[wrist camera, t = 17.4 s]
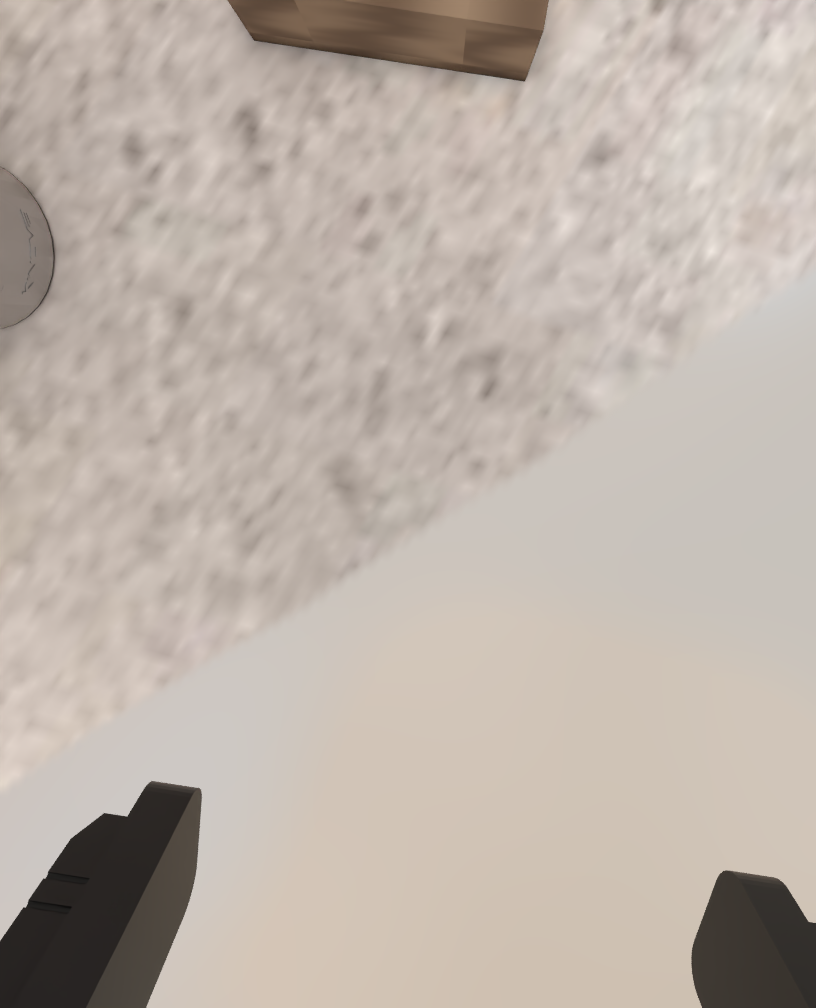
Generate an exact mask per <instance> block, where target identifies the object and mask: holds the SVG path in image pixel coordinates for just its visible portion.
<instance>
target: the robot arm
mask: <svg viewBox="0 0 816 1008" xmlns="http://www.w3.org/2000/svg"><path fill="white" fill-rule="evenodd" d="M53 259H54V256H53V247H52V238H51V235H50V232H49V228H48V225H47V222H46V219H45V217H44V215H43V213H42V211H41V209H40V207H39V205H38V203H37V202H36V201H35V199H34V198H33V197H32V195H31V194H30V193H29V191H28V190H27V189H26V187H25V186H24V185H23V184H22V183H21V182H19V181H18V180H17V179H16V178H15V177H14V176H13V175H12V174H11V173H9V172H8V171H6V170H5V169H3V168H1V167H0V329H1V328H4V327H8V326H11V325H14V324H16V323H18V322H19V321H21V320H23V319H24V318H26V317H28V316H29V315H30V314H31V313H32V312H33V311H34V310H35V309H36V308H37V307H38V306H39V304H40V302H41V301H42V299H43V297H44V295H45V294H46V292H47V290H48V286H49V283H50V280H51V277H52V270H53ZM201 799H202V794H201V790H200V788H194V787H187V786H181V785H174V784H168V783H161V782H155V781H152V782H150V783H149V784H148V785H147V786H146V787H145V789H144V790H143V792H142V793H141V795H140V797H139V798H138V800H137V802H136V803H135V805H134V807H133V808H132V810H131V811H130V813H129V815H128V817H125V816H119V815H113V814H106V813H104V814H103V815H102V816H100V817H99V818H98V819H96V820H95V821H94V822H92V823H91V824H90V825H88V826H87V827H86V828H84V829H83V830H82V831H80V832H79V833H78V834H77V835H75V836H74V837H73V838H71V839H70V841H69V843H68V844H67V845H66V847H65V848H64V850H63V851H62V853H61V854H60V855H59V857H58V858H57V860H56V861H55V863H54V864H53V866H52V867H51V869H50V870H49V871H48V875H47V877H46V879H43V880H42V881H41V883H40V884H39V886H38V887H37V889H36V890H35V892H34V893H33V894H32V896H31V898H30V899H29V901H28V905H27V907H26V908H23V909H22V910H21V912H20V913H19V915H18V916H17V918H16V919H15V921H14V922H13V923H12V925H11V926H10V928H9V929H8V931H7V932H6V934H5V935H4V936H3V938H2V939H1V941H0V1008H146V1006H147V1004H148V1001H149V999H150V996H151V994H152V992H153V989H154V987H155V984H156V982H157V979H158V977H159V975H160V972H161V970H162V967H163V965H164V963H165V960H166V958H167V955H168V953H169V950H170V948H171V946H172V943H173V941H174V939H175V936H176V934H177V931H178V929H179V926H180V924H181V922H182V919H183V917H184V914H185V912H186V909H187V906H188V903H189V899H190V896H191V892H192V889H193V884H194V880H195V875H196V867H197V855H198V841H199V828H200V814H201ZM692 974H693V980H694V985H695V989H696V992H697V995H698V998H699V1000H700V1003H701V1006H702V1008H816V923H811V922H808V920H807V919H806V917H805V916H804V914H803V912H802V911H801V909H800V908H799V906H798V904H797V903H796V901H795V899H794V898H793V897H792V895H791V893H790V892H789V890H788V888H787V887H786V886H785V885H784V883H783V882H781V881H780V880H779V879H777V878H774V877H767V876H760V875H753V874H747V873H740V872H734V871H723V872H722V873H721V874H720V875H719V876H718V878H717V880H716V883H715V886H714V888H713V891H712V894H711V897H710V899H709V903H708V905H707V908H706V910H705V913H704V916H703V919H702V921H701V924H700V927H699V930H698V932H697V935H696V938H695V941H694V944H693V948H692Z"/></svg>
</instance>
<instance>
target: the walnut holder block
mask: <svg viewBox="0 0 816 1008" xmlns="http://www.w3.org/2000/svg"><path fill="white" fill-rule="evenodd" d="M548 1H549V0H228V2H229V3H230V5H231V6H232V8H233V9H234V11H235V12H236V14H237V15H238V17H239V18H240V20H241V21H242V23H243V24H244V26H245V27H246V29H247V30H248V32H249V33H250V35H251V36H252V38H253V39H254V40H255V41H262V42H268V43H275V44H282V45H288V46H295V47H302V48H308V49H315V50H321V51H328V52H335V53H341V54H348V55H355V56H361V57H368V58H374V59H381V60H388V61H394V62H401V63H408V64H414V65H421V66H428V67H434V68H441V69H447V70H454V71H461V72H467V73H474V74H481V75H487V76H494V77H500V78H507V79H514V80H520V81H525V80H526V77H527V74H528V72H529V69H530V66H531V63H532V61H533V58H534V55H535V52H536V49H537V47H538V44H539V41H540V38H541V36H542V33H543V30H544V24H545V18H546V13H547V7H548Z"/></svg>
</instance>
